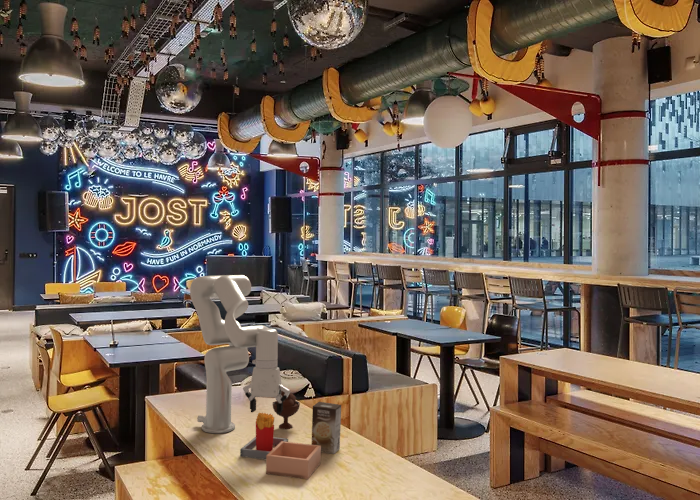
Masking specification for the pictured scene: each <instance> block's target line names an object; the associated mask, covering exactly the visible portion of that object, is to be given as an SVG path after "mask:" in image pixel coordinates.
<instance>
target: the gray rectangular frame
mask: <svg viewBox="0 0 700 500" xmlns="http://www.w3.org/2000/svg"><path fill="white" fill-rule="evenodd" d="M281 441H285V442H289V438H283V437H276V436H273V446H277V445H278V444H279V443H280V442H281ZM254 448H256V436H255V437H254V438H252V439H251V440H250V441H248V442H247V443H246V444H245V445H244V446H243V447H241V448H240V451H239V454H240V455H239V457H240V458H241V457H243V458H250V459H257V460H266V455H267V454H268V453H269V451H261V450H256V449H254Z"/></svg>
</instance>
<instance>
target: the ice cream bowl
mask: <svg viewBox="0 0 700 500" xmlns="http://www.w3.org/2000/svg"><path fill="white" fill-rule="evenodd" d="M284 394H285V392H284V391H282V390H281V395H282V397H283V396H284ZM277 403H278V401H277V400H274V401H273V402H272V408H273V411H274V413H275V414H277ZM300 404H301V403H300V401H298V400H297V397H296V396H295V395H294V394H293V393H292V392H290V393H289V395H288V397H287V398H286V399H285V400H284V401H283V411H282V413H280V414H279V415H278V416H280V417H282V418H283V422H282V423H281V424H279V425H278V429H280V430H291V429H292V428H293V425H292V424H291V423H290V422H289V417H292V416H294V415H296V414H297V412H298V411H299V409H300ZM290 428H291V429H290Z"/></svg>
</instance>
